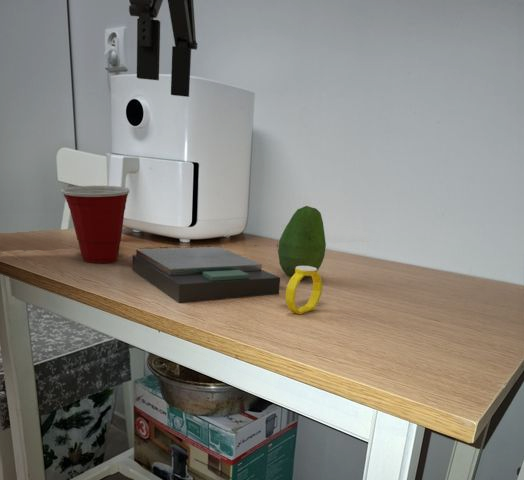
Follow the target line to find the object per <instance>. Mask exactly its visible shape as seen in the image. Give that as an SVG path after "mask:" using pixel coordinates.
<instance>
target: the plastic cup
mask: <svg viewBox="0 0 524 480" xmlns="http://www.w3.org/2000/svg"><path fill="white" fill-rule="evenodd" d="M130 191H131V189H130V188H128V187H124V186H116V185H80V186H79V185H78V186H70V187H65V188H61V189H60V192H61V194H62V195H63V196H64V198H65V201H66V203H67V206H68V209H69V211H70V216H71V220H72V223H73V227H74V232H75V236H76V240H77V242H78V246H79V251H80V255H81V257H82V260H83V261H85V262H87V263H92V264H93V263H94V264H110V263H115V262H117V261H118V258H119V253H120V247H121V242H122V235H123V226H124V218H125V210H126V204H127V200H128V196H129V194H130Z"/></svg>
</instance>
